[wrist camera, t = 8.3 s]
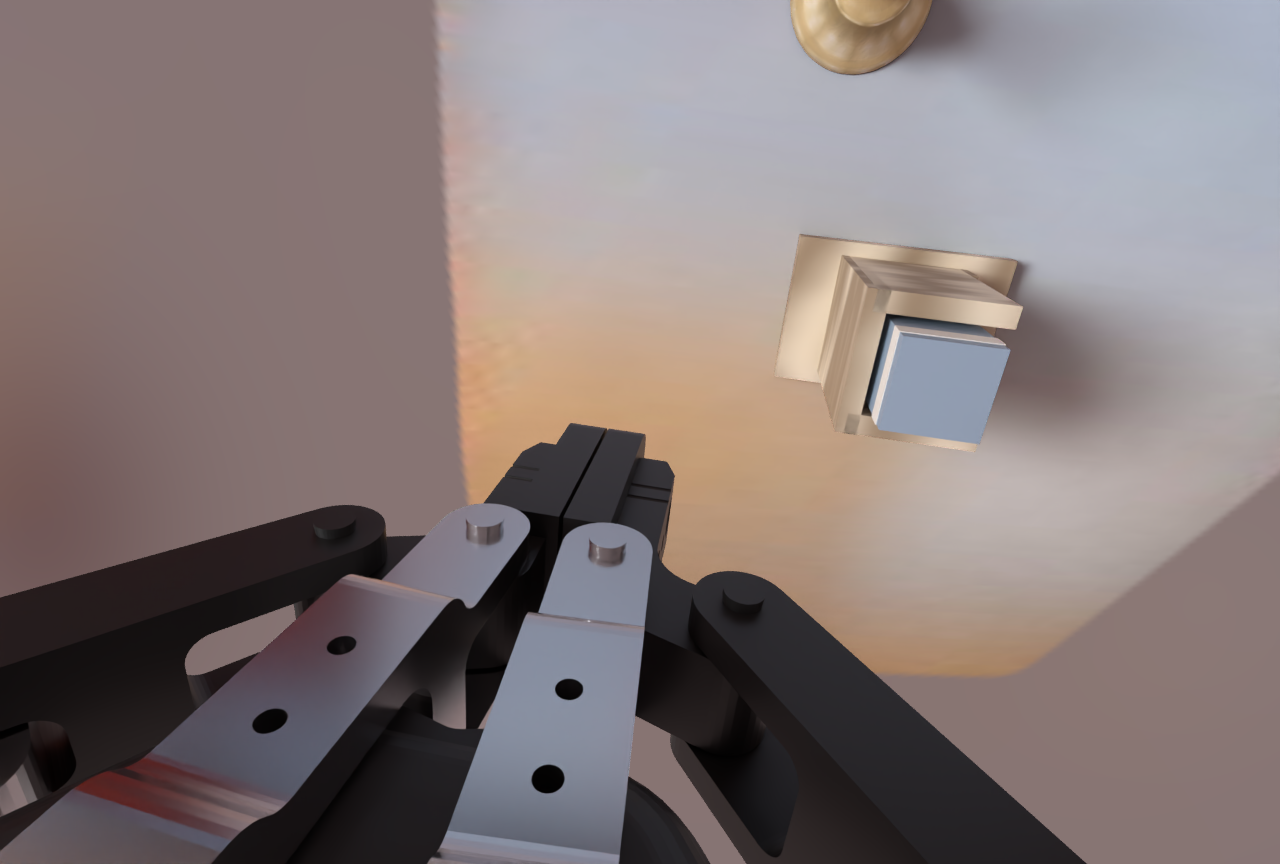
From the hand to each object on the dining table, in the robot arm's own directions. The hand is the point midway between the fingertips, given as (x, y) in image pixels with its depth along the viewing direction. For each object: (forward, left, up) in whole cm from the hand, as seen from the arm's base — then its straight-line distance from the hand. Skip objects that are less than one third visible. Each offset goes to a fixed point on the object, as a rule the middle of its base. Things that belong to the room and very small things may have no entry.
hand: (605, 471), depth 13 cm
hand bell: (-7, -15, -37) cm, 41 cm away
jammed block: (-13, +4, -36) cm, 38 cm away
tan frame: (-13, +4, -37) cm, 39 cm away
